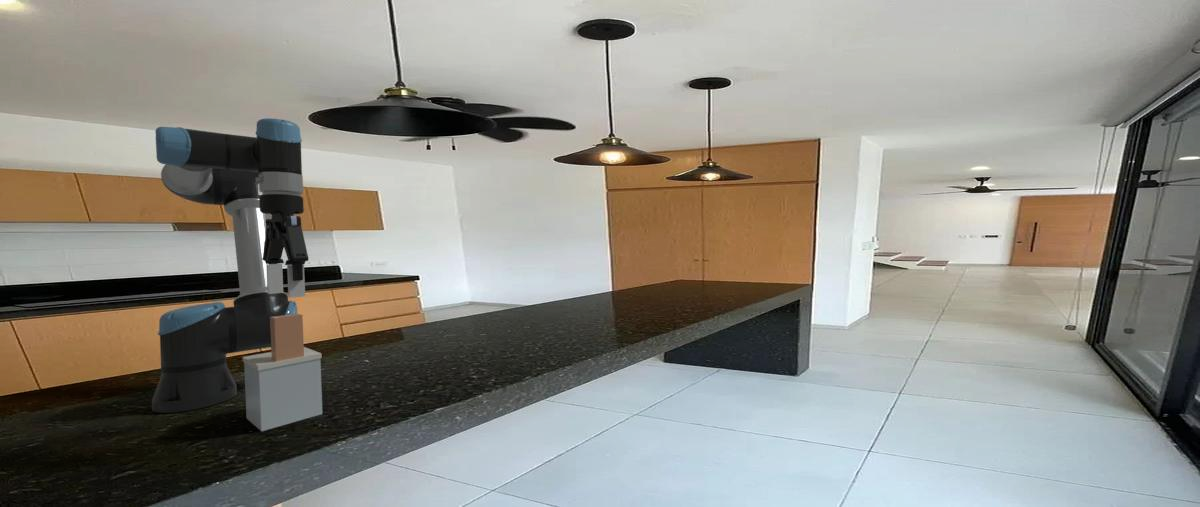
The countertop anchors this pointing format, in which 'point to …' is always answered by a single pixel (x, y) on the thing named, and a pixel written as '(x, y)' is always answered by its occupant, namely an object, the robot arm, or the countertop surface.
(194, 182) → the robot arm
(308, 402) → the tub
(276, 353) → the lid
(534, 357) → the countertop surface
